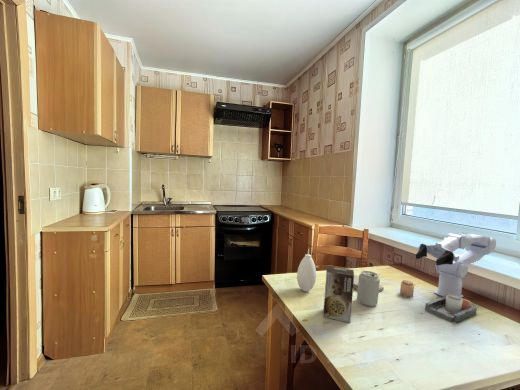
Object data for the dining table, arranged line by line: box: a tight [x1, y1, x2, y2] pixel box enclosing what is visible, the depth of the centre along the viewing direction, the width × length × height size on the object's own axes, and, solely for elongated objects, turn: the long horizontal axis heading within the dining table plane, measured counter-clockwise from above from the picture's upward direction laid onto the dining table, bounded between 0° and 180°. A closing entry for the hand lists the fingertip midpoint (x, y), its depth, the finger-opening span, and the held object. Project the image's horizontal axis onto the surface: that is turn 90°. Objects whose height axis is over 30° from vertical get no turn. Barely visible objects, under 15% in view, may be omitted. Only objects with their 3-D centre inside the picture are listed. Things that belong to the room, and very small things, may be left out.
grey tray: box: [424, 296, 478, 324], centre depth 97 cm, size 17×10×2 cm, turn 120°
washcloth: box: [353, 274, 384, 293], centre depth 117 cm, size 12×18×3 cm, turn 37°
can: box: [356, 270, 381, 308], centre depth 99 cm, size 8×8×12 cm
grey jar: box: [444, 294, 463, 314], centre depth 98 cm, size 5×5×6 cm
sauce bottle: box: [296, 248, 317, 293], centre depth 107 cm, size 8×8×18 cm
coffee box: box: [322, 265, 355, 324], centre depth 88 cm, size 9×6×16 cm
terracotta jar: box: [399, 280, 415, 298], centre depth 110 cm, size 5×5×6 cm
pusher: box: [447, 293, 471, 311], centre depth 100 cm, size 2×7×4 cm, turn 30°
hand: (426, 259), depth 102 cm, fingers open, 7 cm apart
